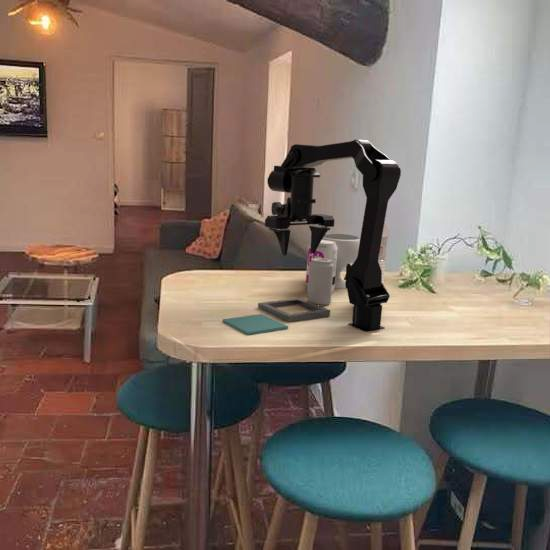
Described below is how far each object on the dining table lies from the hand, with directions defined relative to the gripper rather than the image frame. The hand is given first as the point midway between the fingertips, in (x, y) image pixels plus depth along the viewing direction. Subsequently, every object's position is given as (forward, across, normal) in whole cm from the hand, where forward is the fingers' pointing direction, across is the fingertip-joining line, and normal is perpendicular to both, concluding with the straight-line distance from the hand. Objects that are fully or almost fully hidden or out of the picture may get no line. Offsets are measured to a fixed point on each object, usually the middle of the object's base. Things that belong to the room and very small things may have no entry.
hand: (298, 254), depth 164 cm
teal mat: (+13, +21, +12) cm, 27 cm away
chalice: (+13, -24, -12) cm, 30 cm away
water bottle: (+14, -17, +9) cm, 24 cm away
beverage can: (+14, -6, +3) cm, 15 cm away
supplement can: (+13, -13, -7) cm, 20 cm away
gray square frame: (+13, +6, +7) cm, 16 cm away
